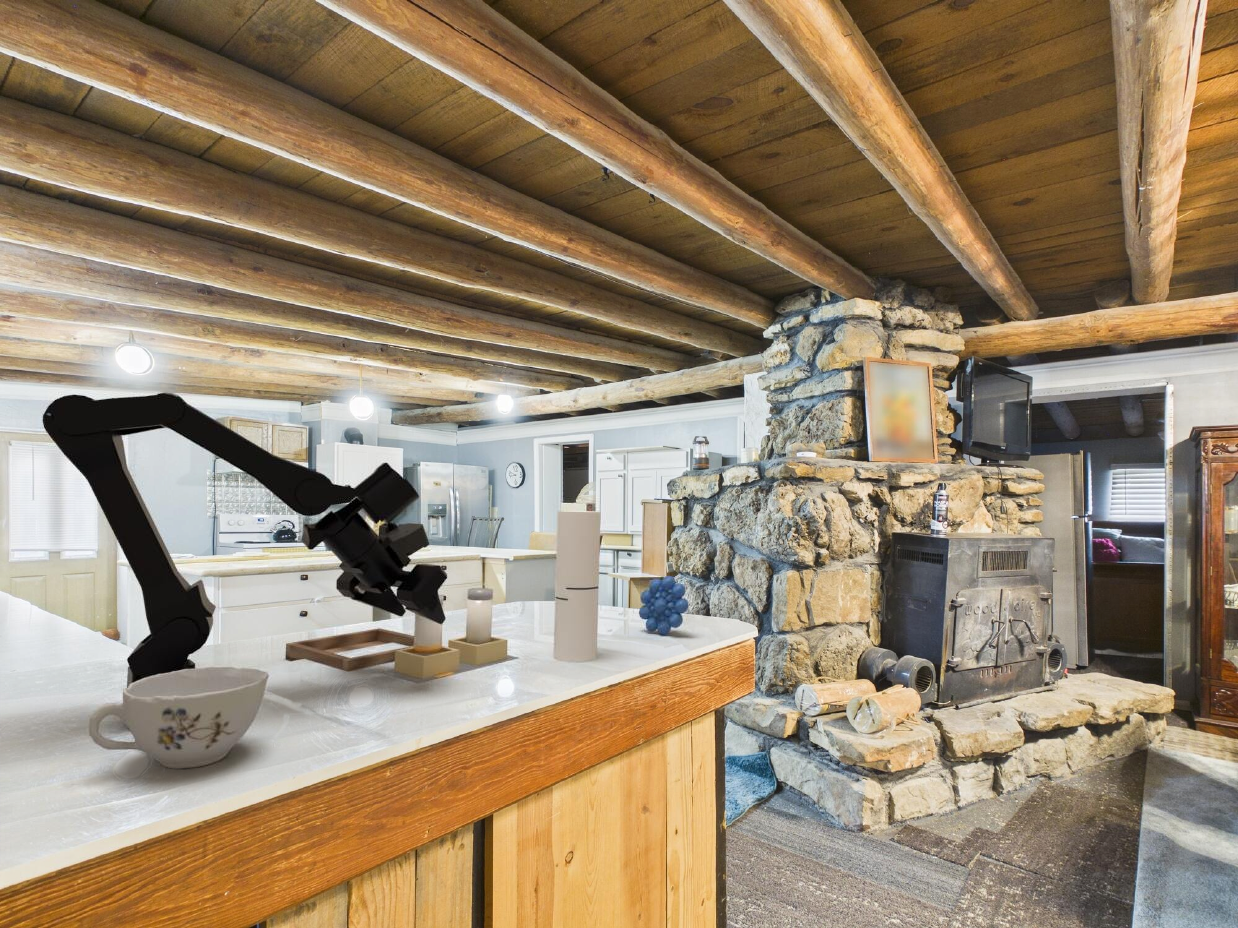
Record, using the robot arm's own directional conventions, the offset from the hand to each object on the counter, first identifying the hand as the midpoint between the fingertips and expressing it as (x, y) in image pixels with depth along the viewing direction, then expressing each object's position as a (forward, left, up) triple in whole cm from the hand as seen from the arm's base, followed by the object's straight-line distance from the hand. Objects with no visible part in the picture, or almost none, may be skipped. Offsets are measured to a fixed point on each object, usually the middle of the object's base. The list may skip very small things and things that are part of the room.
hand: (422, 617), depth 100 cm
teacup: (-33, -13, -9) cm, 36 cm away
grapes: (+54, 0, -9) cm, 55 cm away
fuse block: (+6, +1, -9) cm, 11 cm away
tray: (-1, +17, -9) cm, 19 cm away
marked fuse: (+1, 0, -8) cm, 8 cm away
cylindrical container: (+24, -7, -9) cm, 27 cm away
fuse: (+11, +2, -8) cm, 14 cm away
